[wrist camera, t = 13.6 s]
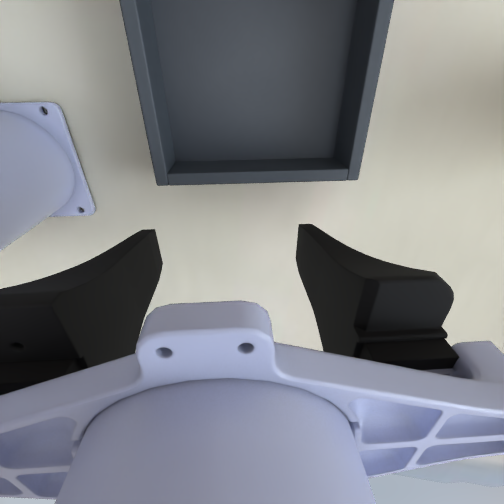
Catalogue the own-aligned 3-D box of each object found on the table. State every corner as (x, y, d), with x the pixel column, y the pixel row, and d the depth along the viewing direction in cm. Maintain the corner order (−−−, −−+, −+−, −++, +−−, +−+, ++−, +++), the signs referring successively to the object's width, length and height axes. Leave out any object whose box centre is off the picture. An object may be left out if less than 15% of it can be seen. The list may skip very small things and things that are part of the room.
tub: (167, 171, 21) (156, 186, 18) (119, -101, 14) (87, -152, 11) (341, 167, 21) (358, 180, 18) (384, -97, 14) (424, -145, 11)
